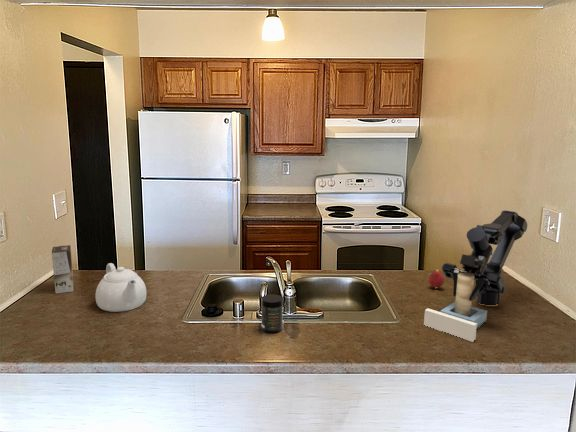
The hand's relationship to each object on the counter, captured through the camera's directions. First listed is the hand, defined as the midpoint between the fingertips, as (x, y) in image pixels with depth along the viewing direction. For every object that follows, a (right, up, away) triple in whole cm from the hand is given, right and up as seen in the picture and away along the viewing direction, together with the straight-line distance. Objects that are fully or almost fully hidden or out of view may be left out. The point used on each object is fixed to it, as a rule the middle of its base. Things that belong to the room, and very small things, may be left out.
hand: (462, 298), depth 149 cm
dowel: (+1, -6, +2) cm, 7 cm away
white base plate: (0, -10, +3) cm, 10 cm away
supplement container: (-61, -10, -2) cm, 62 cm away
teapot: (-116, -5, +17) cm, 117 cm away
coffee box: (-142, -2, +29) cm, 145 cm away
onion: (+3, -3, +36) cm, 36 cm away
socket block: (+1, -9, +4) cm, 9 cm away
